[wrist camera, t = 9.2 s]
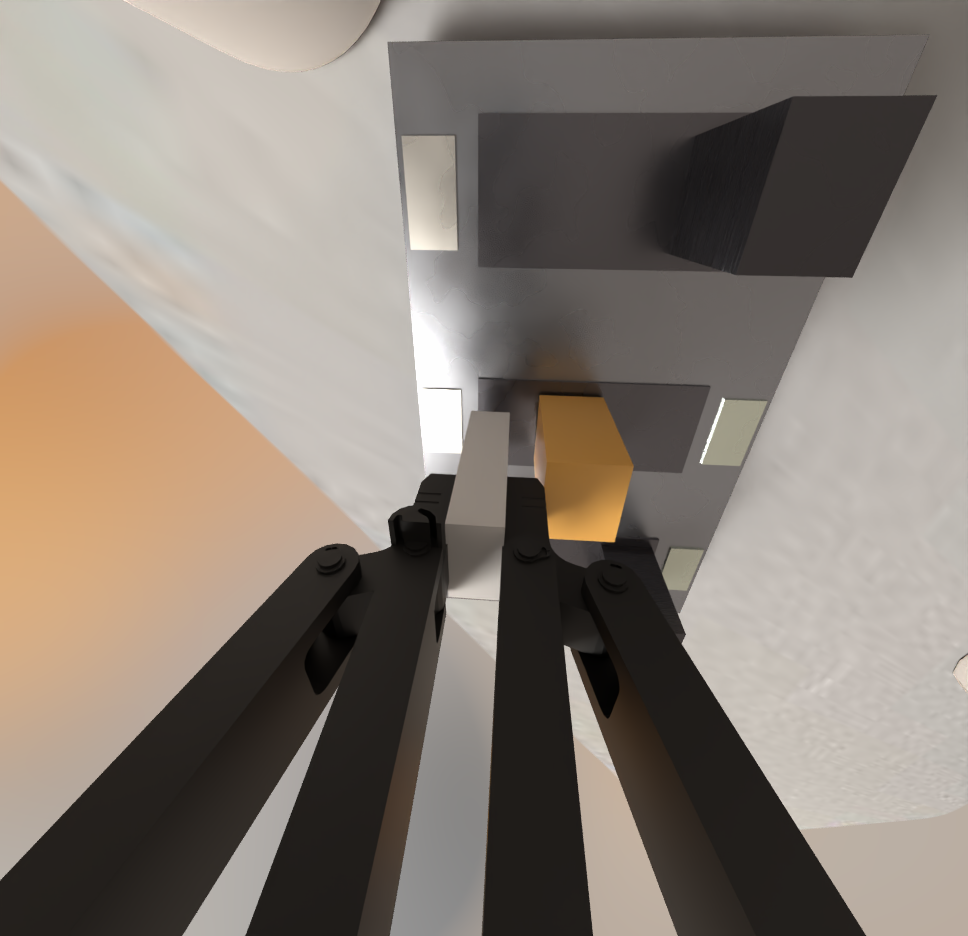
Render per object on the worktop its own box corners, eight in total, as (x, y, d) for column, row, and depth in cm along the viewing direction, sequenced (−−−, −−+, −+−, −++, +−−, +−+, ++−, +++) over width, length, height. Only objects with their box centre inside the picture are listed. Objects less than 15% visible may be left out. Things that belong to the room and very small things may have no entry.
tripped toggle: (539, 395, 16) (546, 462, 12) (603, 397, 16) (633, 466, 12) (533, 459, 18) (538, 538, 13) (591, 461, 17) (614, 542, 13)
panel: (412, 72, 13) (306, -60, 7) (848, 68, 13) (1215, -86, 6) (443, 559, 26) (417, 681, 19) (663, 572, 25) (715, 704, 19)
